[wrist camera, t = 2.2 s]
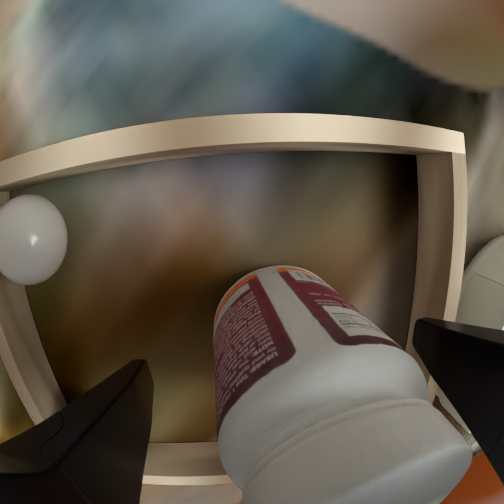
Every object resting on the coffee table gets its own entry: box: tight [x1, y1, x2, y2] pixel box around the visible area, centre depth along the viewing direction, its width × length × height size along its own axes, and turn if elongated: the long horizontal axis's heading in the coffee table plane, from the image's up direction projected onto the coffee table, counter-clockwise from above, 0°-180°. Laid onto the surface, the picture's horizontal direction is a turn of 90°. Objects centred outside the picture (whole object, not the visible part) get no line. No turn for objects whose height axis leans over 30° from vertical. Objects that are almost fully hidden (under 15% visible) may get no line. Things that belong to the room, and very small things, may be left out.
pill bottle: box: [213, 265, 473, 504], centre depth 7 cm, size 5×5×8 cm
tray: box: [0, 113, 467, 485], centre depth 10 cm, size 18×14×2 cm
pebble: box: [0, 194, 68, 285], centre depth 8 cm, size 3×3×3 cm
